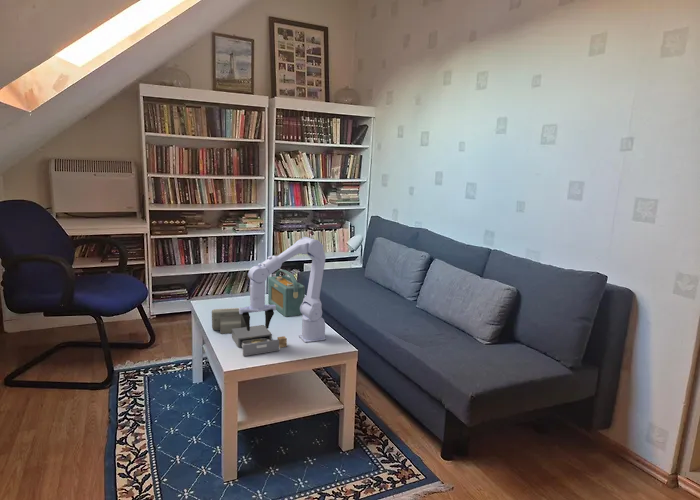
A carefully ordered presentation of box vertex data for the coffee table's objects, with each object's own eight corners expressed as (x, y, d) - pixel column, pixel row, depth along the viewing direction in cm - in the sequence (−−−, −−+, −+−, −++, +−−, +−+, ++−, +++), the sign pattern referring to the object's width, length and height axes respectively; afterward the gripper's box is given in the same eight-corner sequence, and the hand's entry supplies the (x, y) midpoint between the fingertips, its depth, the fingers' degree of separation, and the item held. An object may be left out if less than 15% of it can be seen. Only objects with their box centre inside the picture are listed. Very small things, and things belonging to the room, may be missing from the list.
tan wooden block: (284, 344, 196) (284, 336, 196) (286, 346, 194) (286, 338, 193) (277, 345, 195) (277, 337, 194) (279, 347, 192) (279, 339, 192)
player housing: (263, 333, 208) (263, 324, 207) (271, 343, 197) (271, 334, 196) (231, 337, 201) (231, 328, 201) (238, 347, 191) (238, 338, 190)
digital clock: (250, 327, 215) (250, 304, 213) (247, 334, 206) (247, 311, 204) (214, 326, 214) (213, 304, 212) (209, 334, 205) (209, 310, 203)
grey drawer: (270, 340, 200) (270, 330, 199) (279, 350, 189) (279, 340, 188) (236, 344, 193) (236, 334, 192) (243, 356, 182) (243, 345, 182)
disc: (262, 342, 194) (262, 338, 194) (266, 346, 189) (266, 343, 189) (249, 344, 192) (249, 340, 192) (252, 348, 187) (252, 345, 187)
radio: (267, 303, 251) (267, 267, 248) (286, 301, 256) (286, 265, 253) (285, 318, 229) (285, 278, 226) (305, 315, 235) (306, 276, 231)
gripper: (241, 301, 180) (242, 334, 183) (278, 297, 187) (278, 329, 189) (237, 296, 186) (237, 328, 189) (272, 292, 193) (272, 324, 195)
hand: (257, 328), depth 189 cm, fingers open, 7 cm apart
